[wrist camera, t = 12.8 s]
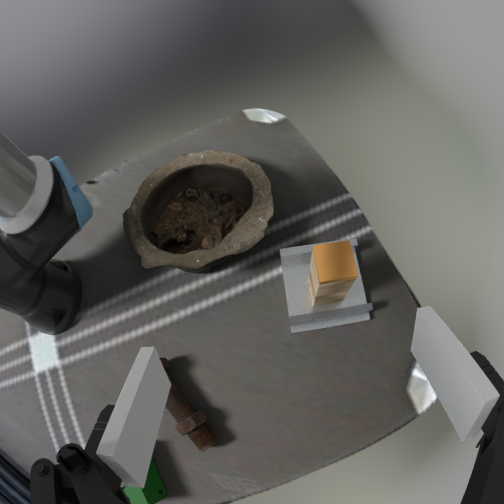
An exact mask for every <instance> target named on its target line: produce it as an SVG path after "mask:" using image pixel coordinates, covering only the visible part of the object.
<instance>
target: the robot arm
mask: <svg viewBox="0 0 504 504" xmlns="http://www.w3.org/2000/svg"><path fill="white" fill-rule="evenodd" d="M92 215H93V208H92V206H91V204H90V202H89V201H88V199H87V198H86V196H85V195H84V193H83V192H82V190H81V189H80V187H79V186H78V184H77V183H76V181H75V180H74V178H73V176H72V175H71V173H70V172H69V170H68V169H67V167H66V165H65V164H64V162H63V161H62V159H61V158H60V157H58V156H56V157H54V158H52V159H51V160H49V162H48V161H47V160H46V159H45V158H43V157H41V156H30V157H27V156H26V155H25V154H24V153H22V152H21V151H20V150H19V149H18V148H17V147H16V146H15V145H14V144H13V143H12V142H11V141H10V140H9V139H8V138H7V137H6V136H5V135H4V134H3V133H2V132H1V131H0V308H2V309H5V310H7V311H10V312H13V313H16V314H18V315H20V316H21V317H22V318H23V319H25V320H26V321H27V322H28V323H29V324H30V325H31V326H32V327H33V328H34V329H36V330H37V331H39V332H42V333H45V334H48V335H55V334H58V333H61V332H62V331H64V330H65V329H66V328H67V327H68V326H69V325H70V324H71V323H72V321H73V320H74V318H75V316H76V314H77V311H78V309H79V305H80V300H81V283H80V279H79V276H78V274H77V272H76V271H75V270H74V268H73V267H71V266H70V265H68V264H67V263H65V262H63V261H61V260H57V259H51V258H52V257H53V256H54V255H55V254H56V253H57V252H58V251H59V250H60V249H61V248H62V247H63V246H64V245H65V244H66V243H67V242H68V241H69V240H70V239H71V238H72V237H73V236H74V235H76V234H77V233H78V232H79V231H81V229H82V227H83V226H84V225H85V224H86V223H87V222H88V221H89V220H90V218H91V217H92ZM411 352H412V353H413V355H414V357H415V358H416V360H417V362H418V363H419V365H420V367H421V368H422V370H423V372H424V373H425V375H426V377H427V379H428V380H429V382H430V384H431V386H432V387H433V389H434V391H435V393H436V394H437V396H438V398H439V400H440V402H441V403H442V405H443V407H444V409H445V411H446V413H447V414H448V416H449V418H450V420H451V422H452V424H453V426H454V427H455V430H456V432H457V434H458V435H459V437H460V439H461V441H462V443H463V442H466V441H468V440H470V439H472V438H474V437H476V436H477V434H478V433H479V431H480V429H482V430H483V432H484V435H483V436H482V438H481V439H480V441H479V442H478V444H477V446H476V448H478V446H479V445H480V448H479V451H478V455H477V458H476V461H475V464H474V468H473V471H472V474H471V477H470V480H469V483H468V485H467V489H466V491H465V494H464V496H463V499H462V501H461V504H504V381H503V379H502V378H501V377H500V376H499V374H498V373H497V371H495V369H494V368H493V366H492V365H490V362H489V361H488V360H487V359H486V358H485V356H483V355H482V354H480V353H479V352H477V351H475V352H472V353H469V352H468V351H467V350H466V349H465V348H464V346H463V345H462V344H461V342H460V341H459V340H458V338H457V337H456V336H455V335H454V334H453V332H452V331H451V330H450V329H449V328H448V326H447V325H446V324H445V323H444V321H442V319H441V318H440V317H439V315H438V314H437V313H436V312H435V311H434V310H433V309H432V307H431V306H426V307H422V308H417V315H416V322H415V328H414V334H413V340H412V346H411ZM170 388H171V383H170V381H169V379H168V376H167V374H166V372H165V370H164V367H163V365H162V363H161V361H160V358H159V356H158V354H157V351H156V349H155V347H141V349H140V351H139V353H138V355H137V357H136V360H135V362H134V364H133V366H132V368H131V371H130V373H129V375H128V377H127V380H126V382H125V384H124V386H123V389H122V391H121V393H120V396H119V398H118V400H117V403H116V405H107V406H106V407H105V408H104V409H103V410H102V411H101V413H100V415H99V417H98V419H97V423H96V424H95V426H94V430H93V431H92V433H91V435H90V438H89V440H88V442H87V445H86V447H85V450H83V449H82V447H81V446H79V445H77V444H73V443H70V444H67V445H65V446H63V447H62V448H61V449H60V450H59V451H58V454H57V462H58V463H59V464H58V465H54V464H53V463H52V462H51V461H50V460H48V459H46V458H41V459H39V460H37V461H36V462H34V464H33V465H32V468H31V504H131V503H130V501H129V499H128V498H127V496H126V494H125V492H124V491H123V489H122V488H121V487H120V485H121V482H122V481H123V482H124V483H125V484H126V485H127V486H131V487H137V488H144V486H145V481H146V477H147V473H148V469H149V465H150V461H151V458H152V454H153V450H154V446H155V442H156V438H157V435H158V431H159V427H160V423H161V420H162V416H163V413H164V409H165V405H166V402H167V398H168V395H169V391H170Z"/></svg>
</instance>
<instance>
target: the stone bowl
mask: <svg viewBox="0 0 504 504" xmlns="http://www.w3.org/2000/svg"><path fill="white" fill-rule="evenodd" d="M231 195H235V196H236V197H237V198H232V196H231ZM272 198H273V197H272V195H271V183H270V181H269V178H268V177H266V174H265V172H264V171H263V170H262V169H261V166H259V164H258V163H255V162H251V161H249V159H246V158H244V157H242V156H239V155H236V154H234V153H228V152H224V151H218V150H206V151H202V152H199V153H196V152H193V153H191V154H184V155H182V156H180V157H178V158H176V159H174V160H172V161H170V162H169V163H168V164H166V165H164V166H163V167H160V168H157V169H156V170H155V171H154V172H153V173H152V174H151V175H150V176H149V177H148V178H147V179H146V180H145V181H144V182H143V183H142V185H141V186H140V188H139V190H138V193H137V194H136V196H135V197H134V199H133V202H132V203H131V207H130V208H129V209H127V210H126V211H125V213H124V214H123V220H124V222H123V225H124V226H123V227H124V231H125V237H126V239H127V241H128V242H129V244H130V246H131V247H132V249H133V250H134V251H135V252H136V253H138V254H139V255H140V256H141V258H142V259H141V262H142V264H141V266H143V267H144V269H146V268H153V267H162V266H172V267H175V268H179V269H181V270H183V271H185V272H191V273H205V272H208V271H209V270H210V269H211V266H215V265H219V264H221V263H223V262H225V261H226V260H228V259H229V258H230V257H231V256H232V255H233V254H238V253H242V252H245V251H247V250H249V249H250V248H252V247H253V246H254V245H255V244H256V243H257V242H259V241H260V240H261V239H262V238H263V237H264V230H265V228H266V227H267V226H268V224H267V222H268V220H269V219H270V217H272V216H273V212H274V208H273V199H272ZM171 252H173V253H171ZM174 253H175V254H174Z"/></svg>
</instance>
